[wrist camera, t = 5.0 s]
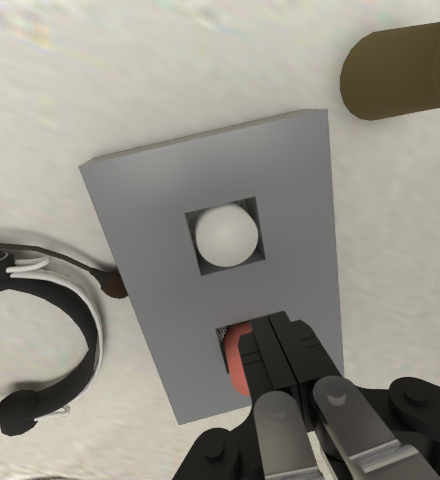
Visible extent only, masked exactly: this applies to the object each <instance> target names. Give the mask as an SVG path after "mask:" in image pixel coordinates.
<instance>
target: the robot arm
mask: <svg viewBox="0 0 440 480" xmlns="http://www.w3.org/2000/svg"><path fill="white" fill-rule="evenodd" d="M249 324H250V328H251V333H247V334H243V335H240V338H239V341H238V345H237V346H238V350H239V354H240V358H241V362H242V366H243V371H244V375H245V378H246V382H247V386H248V390H249V393H250V397H251V401H252V408H251V411H250V414H249V416H248V417H247V418H246V420H245V421H244V422H243V423H242V424H240V425H239V426H237V427H236V428H234V429H233V430H231V431H228V430H227V429H224V428H212V429H209V430H207V431H205V432H203V433H202V434H201V435H200V436H199V437H198V438H197V439H196V441H195V442H194V444H193V446H192V447H191V449H190V451H189V452H188V454H187V456H186V457H185V459H184V461H183V462H182V464H181V466H180V467H179V469H178V471H177V472H176V474H175V476H174V477H173V479H172V480H325V478H324V476H323V474H322V473H321V472H320V470H319V468H318V465H317V462H316V459H315V456H314V453H313V450H312V447H311V444H310V441H309V438H308V435H307V433H308V432H311V431H315V434H316V436H317V438H318V440H319V445H320V451H321V455H322V457H323V459H324V461H325V463H326V465H327V467H328V469H329V471H330V473H331V475H332V477H333V479H334V480H440V387H439V386H437V385H434V384H431V383H429V382H426V381H424V380H421V379H418V378H414V377H402V378H398V379H396V380H394V381H393V382H392V383H391V385H390V387H389V390H387V389H366V388H361V387H358V386H356V385H354V384H353V383H352V382H351V381H350V380H348V379H346V378H344V377H343V376H342V375H341V373H340V372H339V370H338V369H337V367H336V366H335V364H334V362H333V361H332V359H331V358H330V356H329V355H328V353H327V351H326V350H325V348H324V347H323V345H322V344H321V342H320V340H319V339H318V337H317V336H316V334H315V333H314V331H313V329H312V328H311V326H309V325H308V324H306V323H305V322H303V321H302V320H301V319H300V320H296V321H292V322H291V321H290V319H289V318H288V316H287V314H286V312H285V311H280V312H276V313H272V314H268V315H267V316H266V315H265V316H261V317H257V318H253V319H249Z"/></svg>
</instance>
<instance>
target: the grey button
mask: <svg viewBox="0 0 440 480" xmlns="http://www.w3.org/2000/svg"><path fill="white" fill-rule="evenodd" d="M193 225H194V231H195V236H196V241H197V247H198V250H199V252H200V254H201V255H202V256H203V257H204V259H206V260H207V261H208V262H210V263H211V264H214V265H217V266H221V267H230V266H234V265H237V264H240V263H242V262H243V261H245V260H246V259H247V258H248V257H249V256H250V255H251V254H252V253H253V251H254V250H255V248H256V245H257V241H258V231H257V227H256V225H255V223H254V221H253V220H252V218H251V217H250V216H249V214H248V213H247V212H246V210H245V209H244V208H243V206H242V205H241V204H240V203H239V202H238V201H234V202H229V203H225V204H221V205H217V206H213V207H209V208H205V209H201V210H197V211H195V213H194V217H193Z"/></svg>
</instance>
